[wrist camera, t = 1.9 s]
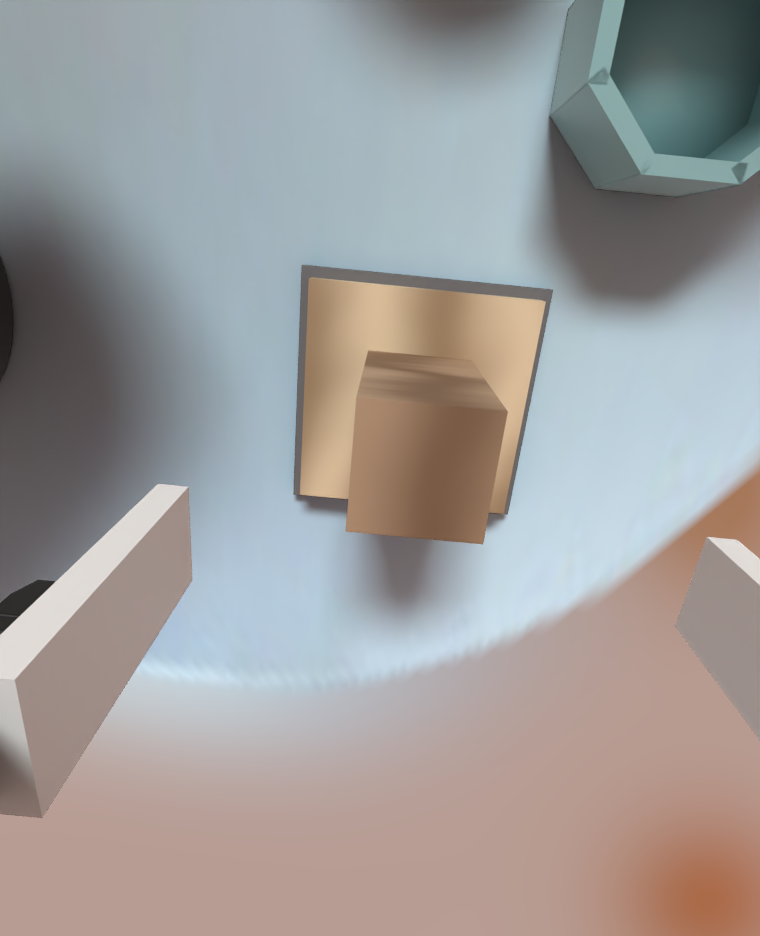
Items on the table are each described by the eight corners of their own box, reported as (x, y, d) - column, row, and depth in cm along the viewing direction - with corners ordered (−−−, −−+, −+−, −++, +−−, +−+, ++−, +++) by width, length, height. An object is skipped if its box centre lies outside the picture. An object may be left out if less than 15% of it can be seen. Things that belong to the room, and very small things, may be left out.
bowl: (536, 183, 25) (570, 167, 20) (583, -75, 21) (635, -165, 17) (732, 203, 25) (811, 192, 20) (809, -50, 21) (924, -133, 17)
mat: (295, 490, 31) (293, 494, 30) (303, 264, 26) (301, 265, 26) (505, 509, 31) (507, 514, 30) (549, 289, 26) (552, 290, 26)
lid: (302, 487, 30) (262, 593, 21) (311, 277, 26) (266, 292, 17) (500, 505, 30) (547, 619, 21) (540, 300, 26) (621, 327, 17)
